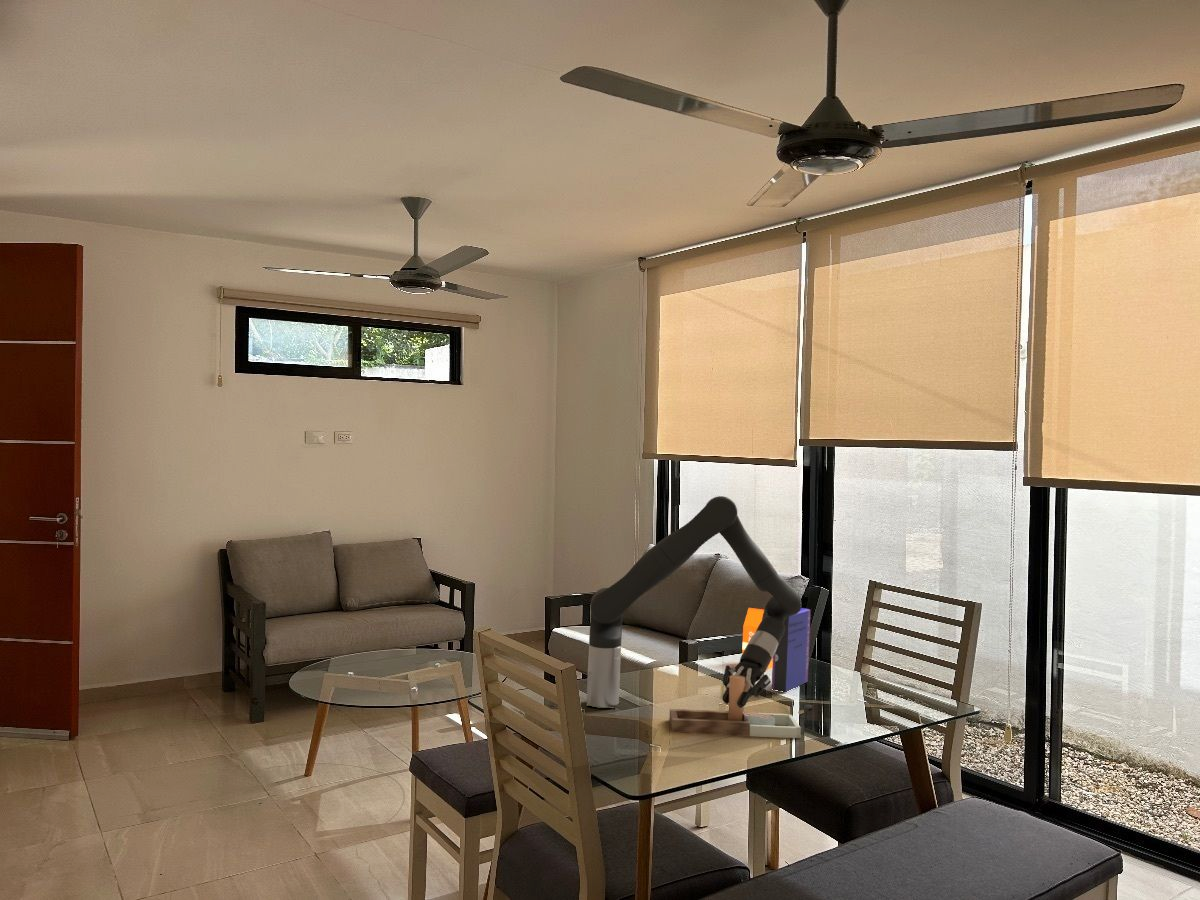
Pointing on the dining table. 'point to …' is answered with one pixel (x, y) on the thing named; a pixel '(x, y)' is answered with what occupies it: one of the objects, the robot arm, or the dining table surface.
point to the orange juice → (752, 627)
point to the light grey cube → (752, 717)
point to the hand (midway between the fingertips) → (732, 703)
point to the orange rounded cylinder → (735, 698)
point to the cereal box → (792, 653)
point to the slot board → (706, 723)
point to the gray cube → (767, 719)
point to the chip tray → (778, 727)
